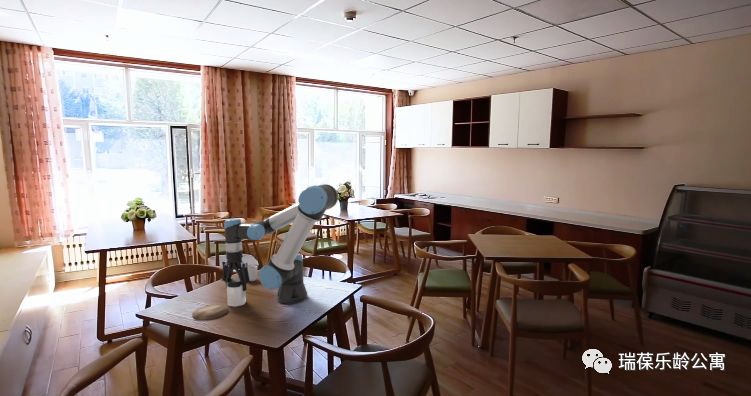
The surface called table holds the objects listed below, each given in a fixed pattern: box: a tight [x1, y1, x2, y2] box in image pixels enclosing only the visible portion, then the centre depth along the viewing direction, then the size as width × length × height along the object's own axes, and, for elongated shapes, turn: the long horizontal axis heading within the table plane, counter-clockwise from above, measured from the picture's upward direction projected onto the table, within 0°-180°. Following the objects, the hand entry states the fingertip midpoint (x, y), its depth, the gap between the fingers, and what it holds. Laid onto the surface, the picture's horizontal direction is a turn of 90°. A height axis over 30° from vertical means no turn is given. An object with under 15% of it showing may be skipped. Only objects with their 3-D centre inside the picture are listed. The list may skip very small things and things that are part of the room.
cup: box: [247, 264, 258, 282], centre depth 227 cm, size 11×8×8 cm
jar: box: [226, 276, 247, 307], centre depth 190 cm, size 9×8×12 cm
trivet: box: [192, 304, 229, 321], centre depth 179 cm, size 15×15×1 cm
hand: (236, 296), depth 190 cm, fingers closed on jar, 8 cm apart
